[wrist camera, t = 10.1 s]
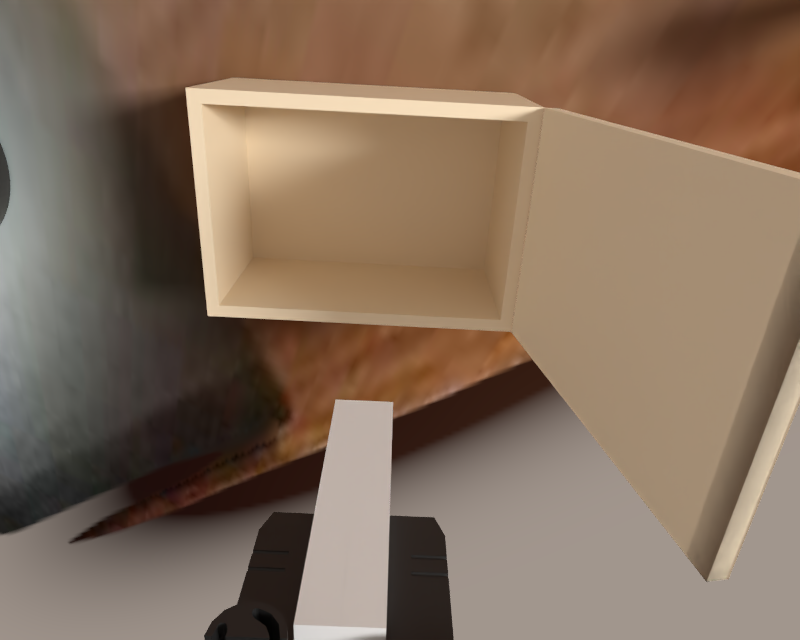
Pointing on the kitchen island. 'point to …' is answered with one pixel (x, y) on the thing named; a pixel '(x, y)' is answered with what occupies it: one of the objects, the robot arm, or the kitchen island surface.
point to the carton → (362, 201)
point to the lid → (667, 317)
